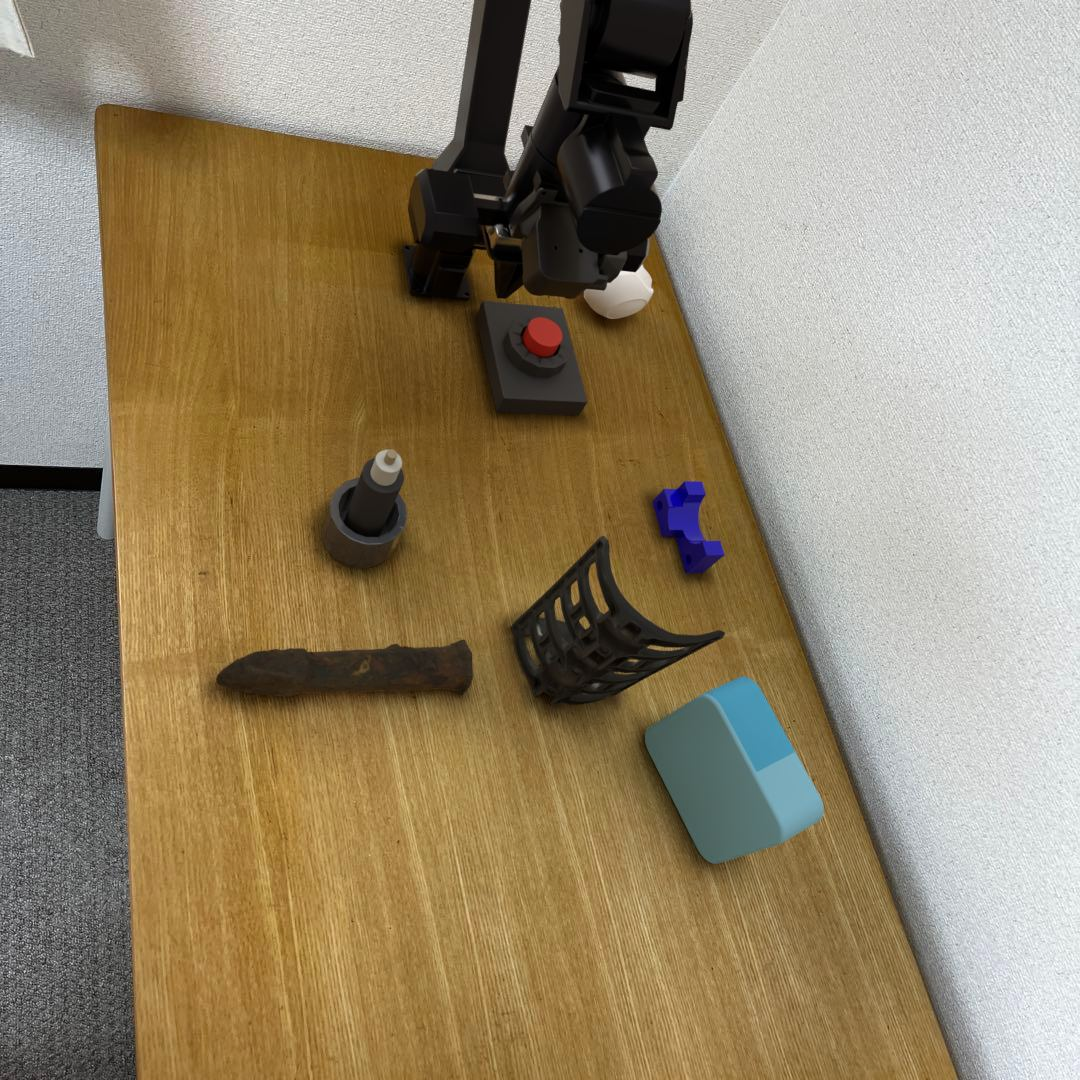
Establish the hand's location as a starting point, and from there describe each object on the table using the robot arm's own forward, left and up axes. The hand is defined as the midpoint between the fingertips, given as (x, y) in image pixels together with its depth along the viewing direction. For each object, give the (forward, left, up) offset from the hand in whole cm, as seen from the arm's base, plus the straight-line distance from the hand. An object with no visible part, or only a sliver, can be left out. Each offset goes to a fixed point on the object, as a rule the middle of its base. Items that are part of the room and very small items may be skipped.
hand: (499, 294), depth 77 cm
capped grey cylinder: (+16, -12, -12) cm, 24 cm away
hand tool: (+29, -14, -13) cm, 35 cm away
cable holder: (+17, +20, -13) cm, 29 cm away
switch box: (-3, +8, -13) cm, 15 cm away
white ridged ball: (-12, +19, -13) cm, 26 cm away
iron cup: (+16, -12, -13) cm, 24 cm away
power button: (-3, +8, -9) cm, 13 cm away
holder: (+30, +4, -13) cm, 33 cm away
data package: (+41, +14, -13) cm, 45 cm away
